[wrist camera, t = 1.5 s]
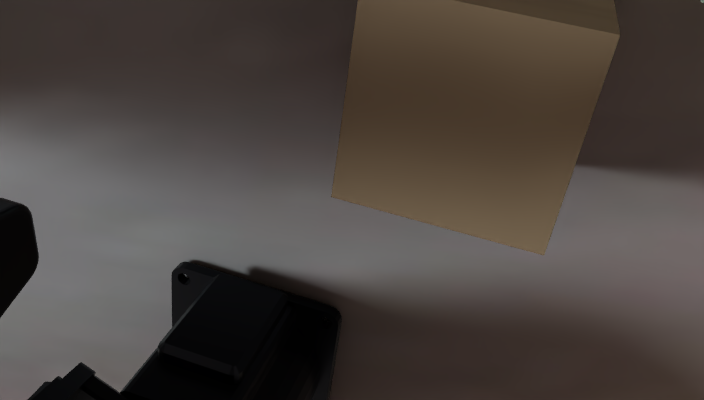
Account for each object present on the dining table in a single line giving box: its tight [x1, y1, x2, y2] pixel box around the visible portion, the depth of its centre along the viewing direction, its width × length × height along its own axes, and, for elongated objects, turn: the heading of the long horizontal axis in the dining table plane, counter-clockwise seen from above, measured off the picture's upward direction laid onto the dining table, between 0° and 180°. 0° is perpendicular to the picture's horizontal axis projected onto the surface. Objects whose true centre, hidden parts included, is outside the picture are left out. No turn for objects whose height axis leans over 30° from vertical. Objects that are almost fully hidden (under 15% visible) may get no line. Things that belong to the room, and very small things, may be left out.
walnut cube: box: [331, 0, 620, 255], centre depth 16 cm, size 5×5×5 cm
